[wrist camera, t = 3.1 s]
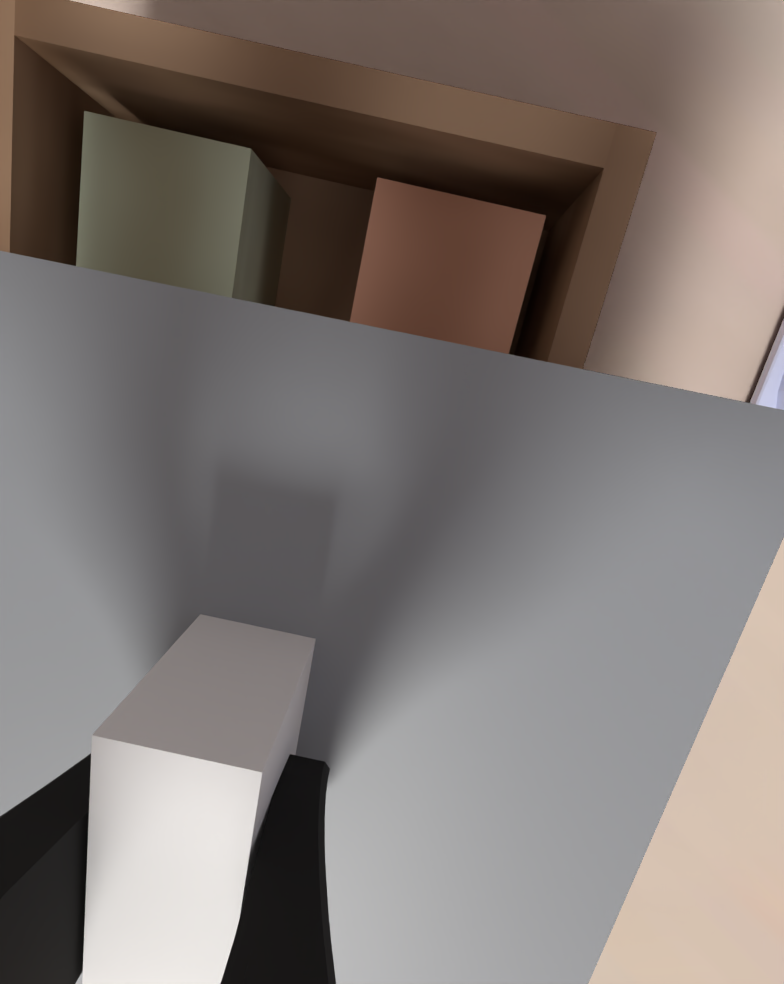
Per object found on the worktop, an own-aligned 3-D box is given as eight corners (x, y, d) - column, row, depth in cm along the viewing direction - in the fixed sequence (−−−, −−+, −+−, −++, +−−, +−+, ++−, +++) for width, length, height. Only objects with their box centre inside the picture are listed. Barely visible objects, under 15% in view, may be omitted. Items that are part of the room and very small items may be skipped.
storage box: (575, 215, 15) (656, 131, 10) (460, 616, 19) (474, 715, 13) (133, 115, 15) (-24, -21, 10) (101, 532, 19) (-26, 597, 13)
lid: (784, 413, 8) (1099, 458, 4) (528, 1037, 12) (575, 1340, 8) (-138, 225, 8) (-607, 113, 4) (-81, 900, 12) (-302, 1134, 8)
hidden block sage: (291, 199, 15) (251, 148, 11) (270, 335, 16) (228, 326, 12) (162, 169, 15) (84, 111, 11) (149, 307, 16) (74, 290, 12)
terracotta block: (518, 250, 15) (546, 215, 11) (483, 383, 16) (498, 388, 12) (388, 220, 15) (377, 177, 11) (361, 356, 16) (343, 352, 12)
